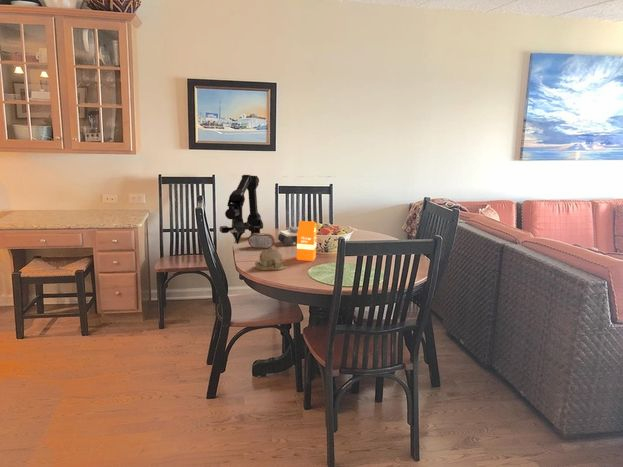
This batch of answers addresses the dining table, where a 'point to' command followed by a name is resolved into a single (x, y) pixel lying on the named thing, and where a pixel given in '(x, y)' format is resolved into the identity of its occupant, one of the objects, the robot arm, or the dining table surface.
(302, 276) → the dining table surface
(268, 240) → the tin
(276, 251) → the ceramic model
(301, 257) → the orange juice
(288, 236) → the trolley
